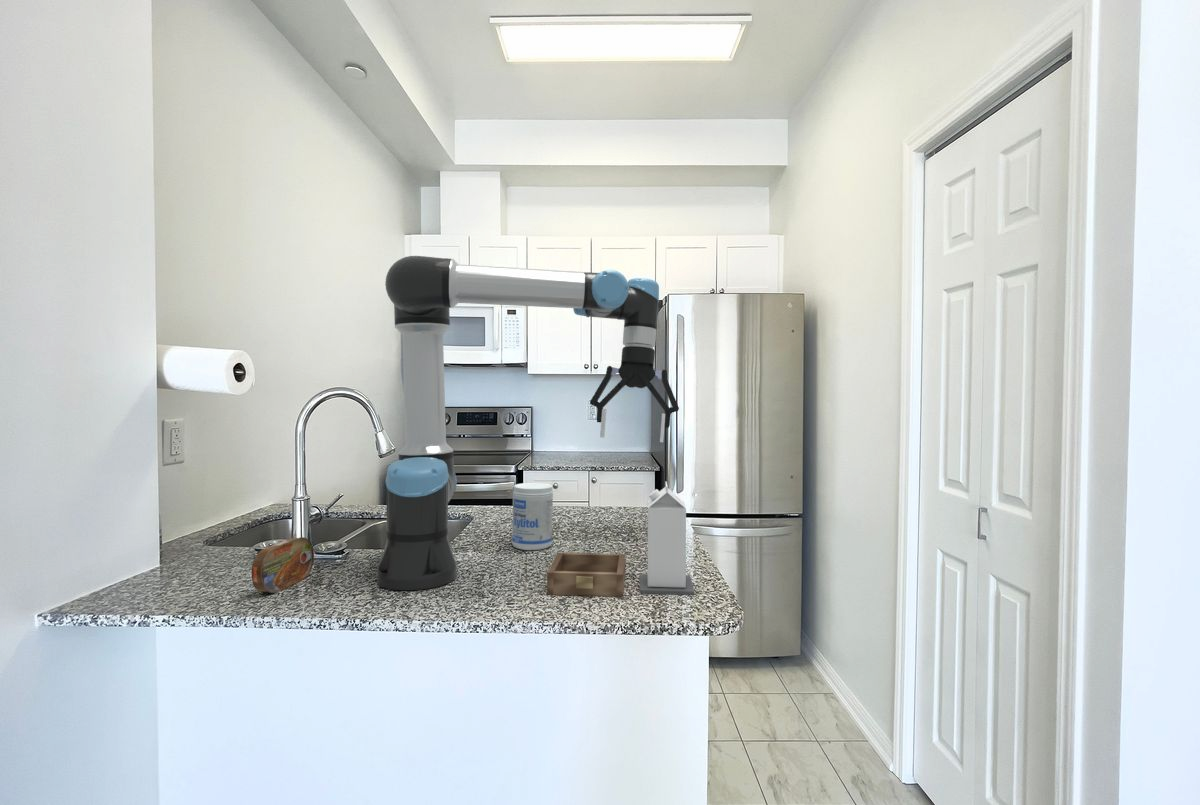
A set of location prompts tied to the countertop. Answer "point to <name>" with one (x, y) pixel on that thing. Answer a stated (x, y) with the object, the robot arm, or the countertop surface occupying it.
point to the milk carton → (666, 540)
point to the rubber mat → (666, 590)
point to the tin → (282, 565)
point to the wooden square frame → (587, 574)
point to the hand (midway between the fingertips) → (631, 439)
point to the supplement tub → (532, 516)
